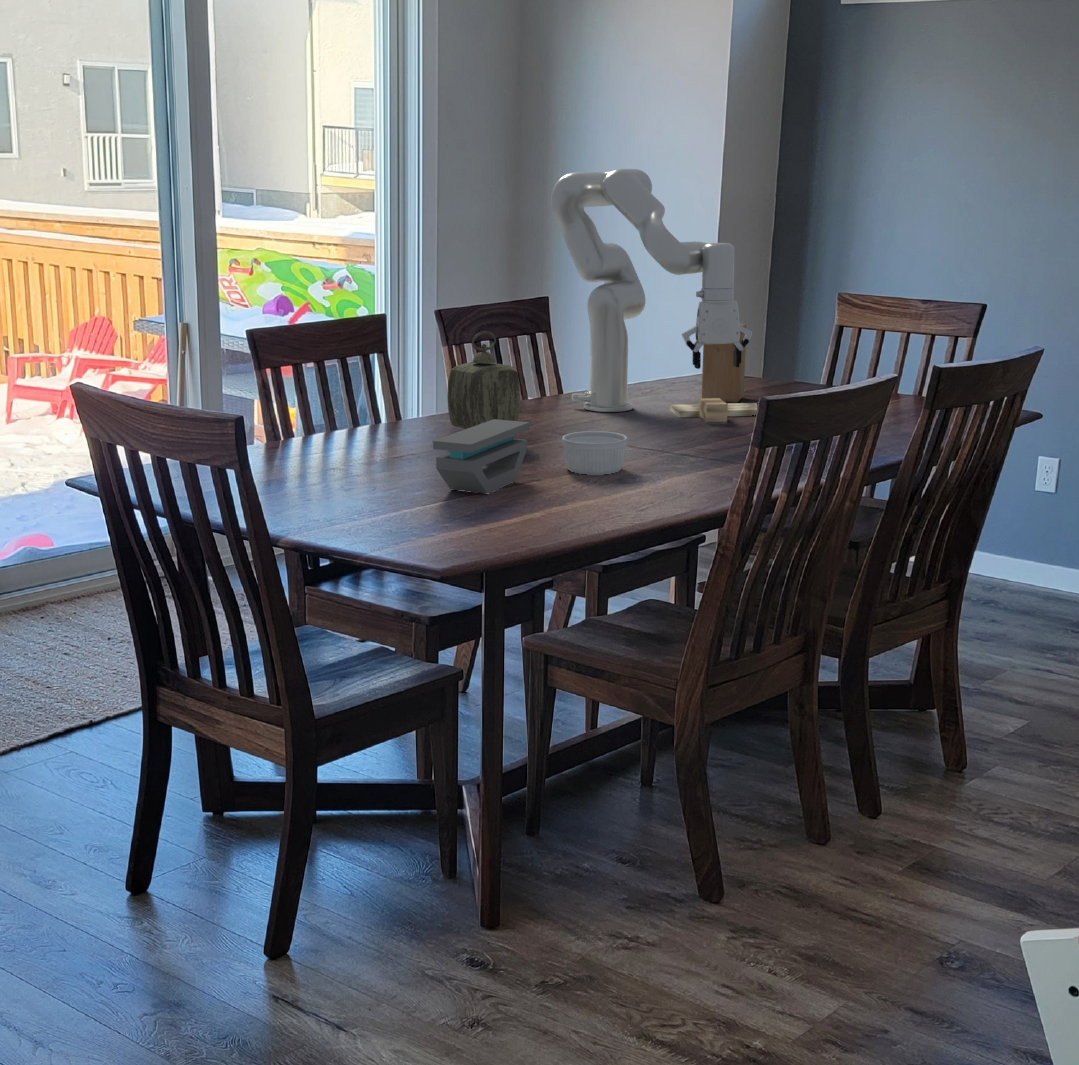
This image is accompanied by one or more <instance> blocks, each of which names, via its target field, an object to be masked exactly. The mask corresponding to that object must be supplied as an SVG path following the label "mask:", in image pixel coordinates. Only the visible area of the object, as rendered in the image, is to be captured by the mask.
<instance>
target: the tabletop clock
mask: <svg viewBox="0 0 1079 1065" xmlns="http://www.w3.org/2000/svg"><path fill="white" fill-rule="evenodd" d="M482 335H489V336H491V338H493V343H492V344H491V345H489V346H487V344H486V343H483V344H482V345H481V347H477V345H475V341H476V339H477V338H478V337H479V336H482ZM496 344H497V337H496V335H495V333H493V332H491V331H487V330H485V331H480V332H477V333H476V334H475V335H474V336H473V337H472V340H471V345H472V348H473V349H474V350H476V351H479V352H477V353H476V354H475V355H474V357H473V359H472V361H471V362H466V363H461V364H458V365H456V366H454V367H453V368H451V369H450V371H449V376H448V380H447V409H448V417H449V420H450V423H451V425H452V426H454V427H457V428H462V429H464V430H465V429H468V428H471V427H473V426H476V425H479V424H482V423H485V422H487V421H490V420H493V419H497V420H509V421H518V419H519V415H520V405H521V404H520V403H521V399H520V398H521V393H520V392H521V391H520V377H519V374H518V373H519V372H518V371H517V369H515V366H511V365H509V364H502V363H496V362H497V360H496V358H495V357H494V355H493V354H492V353H491V352H488V351H489V350H491V349H493V348H495V345H496Z"/></svg>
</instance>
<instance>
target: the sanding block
mask: <svg viewBox="0 0 1079 1065" xmlns="http://www.w3.org/2000/svg"><path fill="white" fill-rule="evenodd" d="M698 402H699V403H698V404H699V417H698V419H700V421H702V422H703V423H704V424H705V425H727V424H728V416H727V411H728V402H724V401H723V400H721V399H720V398H702V397H701V398H699V401H698Z"/></svg>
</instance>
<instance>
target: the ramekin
mask: <svg viewBox="0 0 1079 1065" xmlns="http://www.w3.org/2000/svg"><path fill="white" fill-rule="evenodd" d="M561 444H562V445H563V456H564V462H565V467H566V469H568V470H570V471H571V472H570V471H569V472H570V473H572V472H575V473H574V474H576V473H579V474H578V475H581V474H587V475H586V476H605V475H604V474H609V475H612V474H611V473H614V474H616V473H615V472H617V473H619V472H620V471H621V469H622V468H623V466H624V462H625V457H626V456H625V455H626V448H627V444H628V437H627V436H626V435H625V434H622V433H618V432H613V431H605V430H604V431H602V430H591V431H590V430H588V431H587V430H586V431H575V432H571V433H566V434H564V435H563V436H562V437H561Z"/></svg>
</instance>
